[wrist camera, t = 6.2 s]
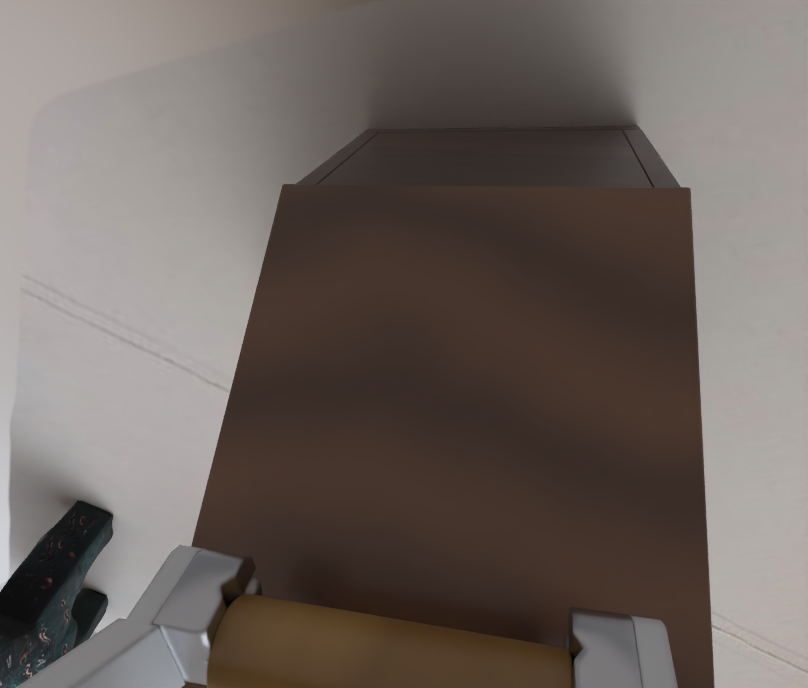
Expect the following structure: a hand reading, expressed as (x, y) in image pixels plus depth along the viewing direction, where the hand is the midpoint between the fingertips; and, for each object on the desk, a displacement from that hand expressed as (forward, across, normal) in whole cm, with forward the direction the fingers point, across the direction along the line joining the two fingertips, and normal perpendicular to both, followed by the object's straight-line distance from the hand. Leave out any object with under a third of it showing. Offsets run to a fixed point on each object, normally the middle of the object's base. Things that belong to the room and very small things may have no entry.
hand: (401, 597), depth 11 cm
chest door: (+5, 0, +1) cm, 5 cm away
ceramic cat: (+22, +37, +35) cm, 55 cm away
